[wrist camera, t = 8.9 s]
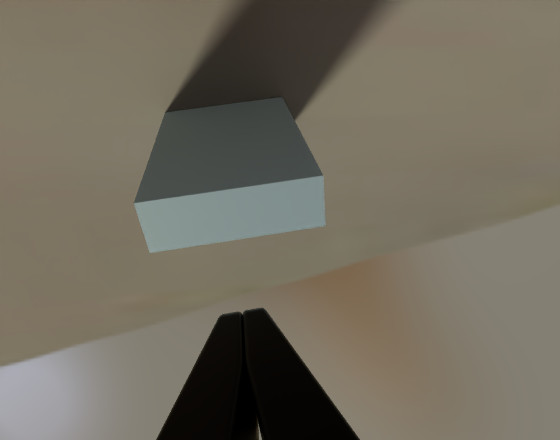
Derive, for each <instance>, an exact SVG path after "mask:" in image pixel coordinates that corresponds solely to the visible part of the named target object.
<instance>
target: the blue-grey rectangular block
mask: <svg viewBox="0 0 560 440" xmlns="http://www.w3.org/2000/svg"><path fill="white" fill-rule="evenodd" d="M134 205H135V209H136V212H137V215H138V218H139V221H140V224H141V227H142V230H143V233H144V236H145V239H146V243H147V246H148V249H149V252H150V253H153V252H160V251H166V250H173V249H179V248H186V247H192V246H199V245H205V244H212V243H218V242H224V241H231V240H237V239H244V238H250V237H257V236H263V235H270V234H276V233H283V232H289V231H296V230H302V229H309V228H315V227H322V226H326V225H325V203H324V180H323V174H322V172H321V170H320V168H319V166H318V164H317V163H316V161H315V159H314V157H313V155H312V153H311V151H310V149H309V147H308V145H307V143H306V142H305V140H304V138H303V136H302V134H301V132H300V130H299V128H298V126H297V124H296V122H295V120H294V119H293V117H292V115H291V113H290V111H289V109H288V107H287V105H286V103H285V101H284V99H283V98H282V97H277V98H270V99H262V100H255V101H247V102H240V103H232V104H225V105H217V106H210V107H202V108H194V109H187V110H179V111H172V112H165V115H164V117H163V120H162V123H161V126H160V129H159V132H158V135H157V138H156V141H155V143H154V146H153V149H152V152H151V155H150V158H149V161H148V164H147V167H146V170H145V172H144V175H143V178H142V181H141V184H140V187H139V190H138V193H137V196H136V198H135V201H134Z"/></svg>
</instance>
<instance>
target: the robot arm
mask: <svg viewBox="0 0 560 440" xmlns="http://www.w3.org/2000/svg"><path fill="white" fill-rule="evenodd" d="M258 424H259V428H260V433H261V437H262V440H360V439H359V438H358V436H357V435H356V434H355V432H354V431H353V429H352V428H351V427H350V425H349V424H348V423H347V422H346V420H345V418H344V417H343V416H342V415H341V413H340V412H339V410H338V409H337V408H336V406H335V405H334V403H333V402H332V401H331V399H330V398H329V396H328V395H327V394H326V392H325V391H324V389H323V388H322V387H321V385H320V384H319V383H318V381H317V380H316V379H315V377H314V376H313V375H312V373H311V372H310V370H309V369H308V367H307V366H306V365H305V363H304V362H303V361H302V359H301V358H300V356H299V355H298V354H297V353H296V351H295V350H294V348H293V347H292V345H291V344H290V343H289V342H288V340H287V339H286V337H285V336H284V334H283V333H282V332H281V330H280V329H279V328H278V326H277V325H276V323H275V322H274V321H273V319H272V318H271V317H270V315H269V314H268V313H267V311H266V310H265V309H264V308H257V309H251V310H246V311H244V312H243V315H242V313H241V312H233V313H228V314H223V315H221V316H220V317H219V318H218V320H217V322H216V324H215V326H214V328H213V330H212V332H211V334H210V336H209V338H208V340H207V341H206V344H205V345H204V348H203V349H202V351H201V353H200V355H199V357H198V359H197V361H196V363H195V365H194V367H193V369H192V371H191V373H190V375H189V377H188V379H187V381H186V383H185V384H184V386H183V388H182V390H181V392H180V394H179V396H178V398H177V400H176V402H175V404H174V406H173V408H172V410H171V412H170V414H169V416H168V418H167V420H166V422H165V424H164V426H163V427H162V430H161V431H160V433H159V435H158V437H157V439H156V440H259V429H258Z"/></svg>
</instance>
